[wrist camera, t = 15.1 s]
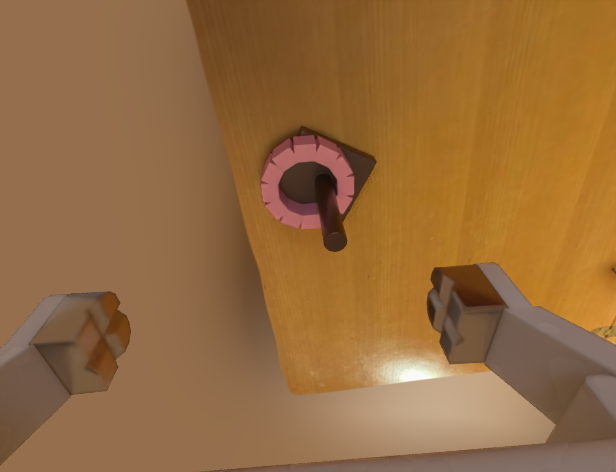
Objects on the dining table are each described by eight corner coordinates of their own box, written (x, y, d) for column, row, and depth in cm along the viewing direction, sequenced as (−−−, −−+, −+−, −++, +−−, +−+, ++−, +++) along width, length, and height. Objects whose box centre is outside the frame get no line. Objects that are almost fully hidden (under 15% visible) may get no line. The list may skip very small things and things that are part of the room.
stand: (271, 195, 42) (267, 266, 31) (301, 126, 38) (308, 178, 26) (339, 220, 44) (357, 293, 33) (374, 157, 40) (408, 216, 29)
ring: (268, 219, 42) (267, 232, 40) (256, 139, 37) (254, 148, 34) (350, 212, 42) (354, 225, 40) (350, 131, 37) (354, 140, 34)
